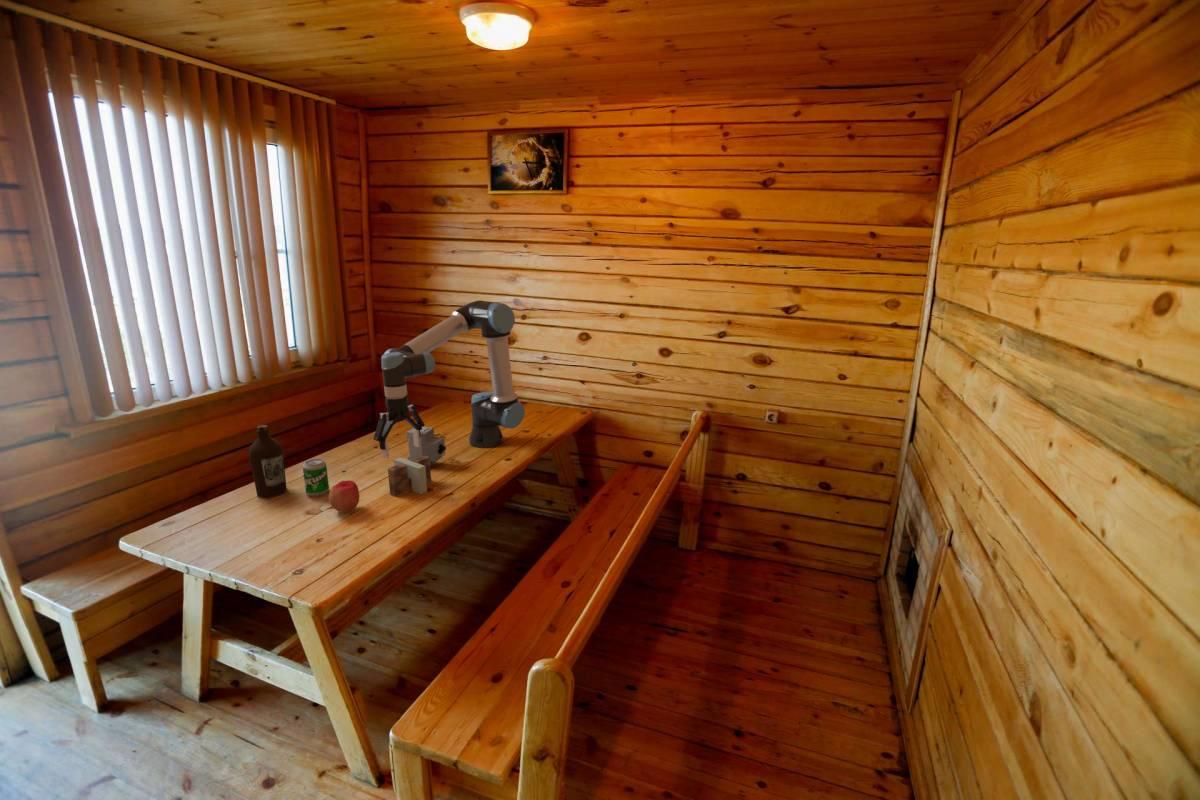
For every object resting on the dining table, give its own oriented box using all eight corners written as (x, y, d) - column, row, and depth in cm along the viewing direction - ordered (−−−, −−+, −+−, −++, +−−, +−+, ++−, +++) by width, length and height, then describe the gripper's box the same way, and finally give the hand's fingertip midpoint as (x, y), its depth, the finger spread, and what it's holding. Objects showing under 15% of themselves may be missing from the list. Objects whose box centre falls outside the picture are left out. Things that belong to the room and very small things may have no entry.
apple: (339, 504, 199) (336, 477, 196) (366, 504, 199) (363, 478, 196) (325, 516, 190) (322, 489, 187) (354, 517, 189) (351, 489, 187)
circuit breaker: (441, 470, 229) (439, 435, 225) (408, 467, 231) (405, 432, 227) (449, 463, 236) (447, 429, 232) (417, 460, 239) (415, 426, 234)
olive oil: (249, 493, 206) (238, 427, 199) (279, 483, 214) (270, 419, 207) (263, 501, 200) (253, 433, 193) (294, 491, 208) (285, 425, 201)
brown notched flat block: (426, 480, 220) (424, 455, 217) (431, 482, 218) (429, 457, 215) (390, 494, 207) (387, 468, 204) (395, 496, 205) (393, 470, 203)
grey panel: (396, 484, 215) (393, 459, 212) (402, 482, 217) (400, 457, 215) (420, 494, 207) (418, 468, 205) (427, 491, 210) (425, 466, 207)
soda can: (306, 490, 209) (302, 459, 206) (329, 487, 212) (326, 456, 209) (305, 498, 202) (301, 467, 199) (329, 495, 205) (325, 464, 202)
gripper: (418, 387, 217) (422, 439, 224) (358, 402, 198) (365, 460, 204) (431, 390, 213) (435, 443, 219) (371, 406, 194) (378, 464, 200)
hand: (401, 451), depth 212 cm, fingers open, 13 cm apart
